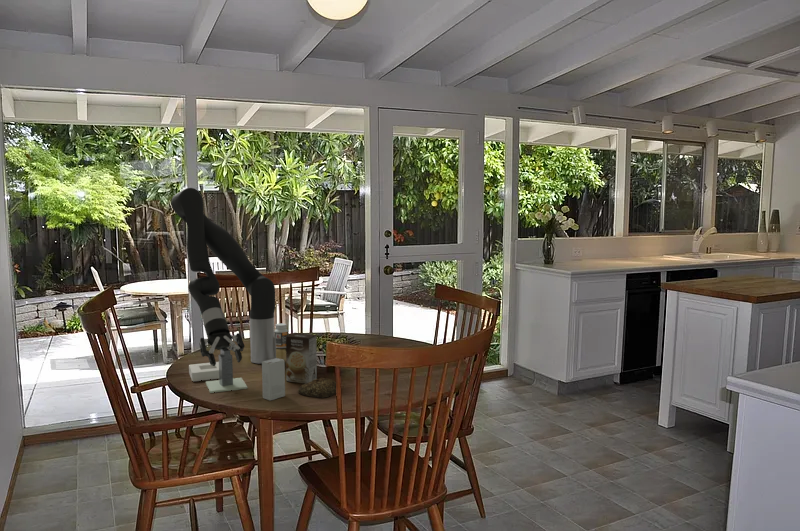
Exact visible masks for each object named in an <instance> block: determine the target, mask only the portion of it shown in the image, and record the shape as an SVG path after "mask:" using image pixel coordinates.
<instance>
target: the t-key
mask: <svg viewBox="0 0 800 531" xmlns="http://www.w3.org/2000/svg"><path fill="white" fill-rule="evenodd" d="M219 352H220V353H219V354H218V362H219V379H218V380H219V384H220V385H221V386H228V385H233V378H234V374H233V370H234V368H233V365H234V364H233V354H231V350H229V349H228V348H220V350H219Z"/></svg>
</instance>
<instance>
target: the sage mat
mask: <svg viewBox="0 0 800 531" xmlns="http://www.w3.org/2000/svg"><path fill="white" fill-rule="evenodd" d="M205 385H206V387H207V389H209V390H208V391H209V394H213V393H214V392H215V393H223V392H231V390H232V391H238V390H246V389H247V390H248V386H247V384H246V382H245V381H244V380H243V377H235V378H234V377H233V385H228V386H221V385H220V384H219V379H218V380H217V379H214V380H205Z"/></svg>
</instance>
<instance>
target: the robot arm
mask: <svg viewBox="0 0 800 531" xmlns="http://www.w3.org/2000/svg"><path fill="white" fill-rule="evenodd" d="M170 203H171V208H172V209H173V211H174V212H175V214H176V215H177V216H178V217H179V218H180V219H181V220H183V221H184V222H185V223H186V228H187V229H186V230H187V232H186V234H187V237H186V254H187V258H188V264H189V268H190V271H192V272H194V273H195V272H196V273H197V272H199V273H204V275H206V276H204V277H197V278H194V279H191V280H190V281H189V283H188V287H187V288H188V292H189V294H190V296H191V297H192V299H193V300H194V301H195V302H196V304H197V306H198V307H199V310H200V314H201V316H202V318H201V319H202V325H203V327H204V330H205V333H206V337H207V338H204V337H200V339H199V349H200V355H201V357H207V358H208V361H209V363H210V364H211V365H212V366H215V365H216V362H217V361H216V358H215V354H214V353H215V350H217V351H220V348H228V349H229V350H230V351H232V352H233V353H234V356H235V359H236V361H237V363H241V362H242V359H243V355H242V352H243V351H244V349H245V347H246V346H245V344H244V343H245V342H244V341H243V339H242V336H241V334H240V333H236V334H235V335H232V334H231V333H230V328H229V326H228V322H227V319H226V316H225V313H224V311H223V309H222V305H221V302H220V301H219V298H217V296H215V295H218V294H219V292H220V288H221V287H220V283H219V281H218V278H217V276H216V274H215V273H214V271H213V268H212V266H211V262H210V256H209V252H208V248H209V250H210V251H211V252H212V253H213V254H214V255H215V257H216V258H218V260H219V261H220V262H221V263H222V264H223V265H224V266H225V267H226V268H228V269H229V271H230V272H232V273H233V274H234V275H235V276H236V277H237V278H238V279H239V281H240V282H241V284H242V285H243V286H244V288H245V289H246V291H247V293H248V294H249V295H250V310H249V337H250V338H249V339H250V340H249V342H250V362H251V363H253V364H262V361H267V360H271V359H275V358H277V348H276V337H275V333H274V332H275V310H276V286H275V283H274V282H273V281H272V280H271V279H270V278H268V277H267V276H264V275H263V274H262V273H261V272H260V271H259V270H258V269H257V268H256V267H255V266H254V265H253V264H252V263H251V262H250V260H249V258H248V256H247V254H246V253H245V252H244V250H243V248H242V247H241V245H240V244H239V243H238V241H237V240H236V239H235V238H234V236H232V235H231V233H230V232H228V230H226V229H225V228H223V227H222V226H220V225H219V224H217V223H216V222H214V221H212V220H211V219H210V218H209V217H208V216H207V215H206V214H205V213H204V198H203V195H202V194H201V193H200V191H199V190H197V189H196V188H193V187H186V188H184V189H182V190H181V191H178V192H177V193H175V195H173V196H172V198H171V201H170ZM207 344H208V345H210V346H211V347H210V348H209V350H207Z"/></svg>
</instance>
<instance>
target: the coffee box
mask: <svg viewBox="0 0 800 531" xmlns="http://www.w3.org/2000/svg"><path fill="white" fill-rule="evenodd" d="M285 353H286V355H285V356H286V357H285V358H286V362H285V363H286V365H285V366H286V367H285V369H286V370H285V375H286V376H285V382H289V383H290V382H292V383H299V384H306V383H308V382H311V381H313V380H314V379H317V378H318V377H317V370H318V369H317V368H318V367H317V365H318V364H317V360H318V359H317V334H312V333H302V332H292V333H291V334H288V336H286V348H285Z"/></svg>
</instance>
